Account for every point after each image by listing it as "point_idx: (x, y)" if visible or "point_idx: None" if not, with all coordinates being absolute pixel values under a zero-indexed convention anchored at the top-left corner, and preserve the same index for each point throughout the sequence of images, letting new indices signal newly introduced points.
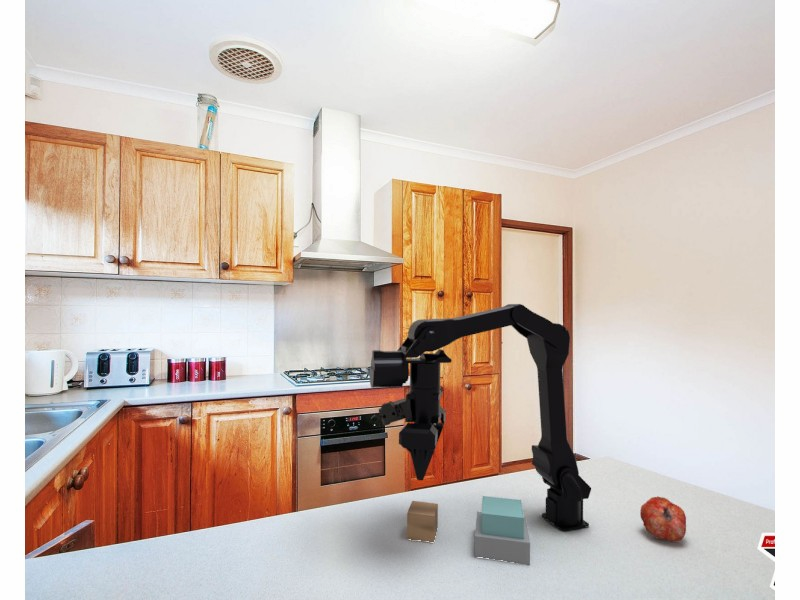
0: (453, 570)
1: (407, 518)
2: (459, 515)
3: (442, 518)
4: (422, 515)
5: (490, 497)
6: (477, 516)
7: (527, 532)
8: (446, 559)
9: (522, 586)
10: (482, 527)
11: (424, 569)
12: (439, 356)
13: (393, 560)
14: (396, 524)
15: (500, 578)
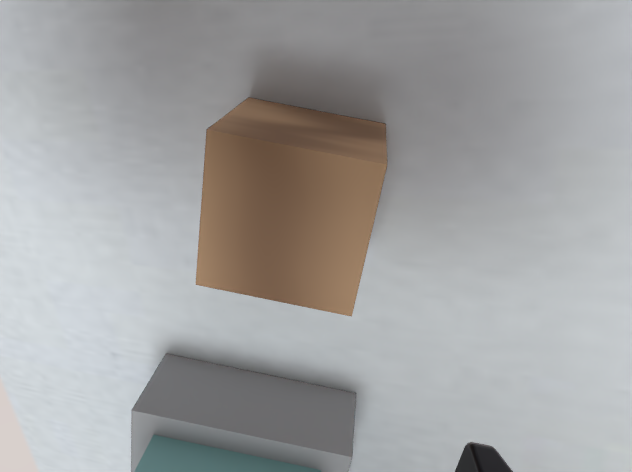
0: (71, 275)
1: (217, 123)
2: (493, 353)
3: (467, 278)
4: (200, 220)
5: None
6: (301, 450)
7: None
8: (131, 259)
9: (53, 441)
10: (142, 458)
11: (45, 173)
12: None
13: (68, 36)
14: (405, 32)
15: (72, 399)
